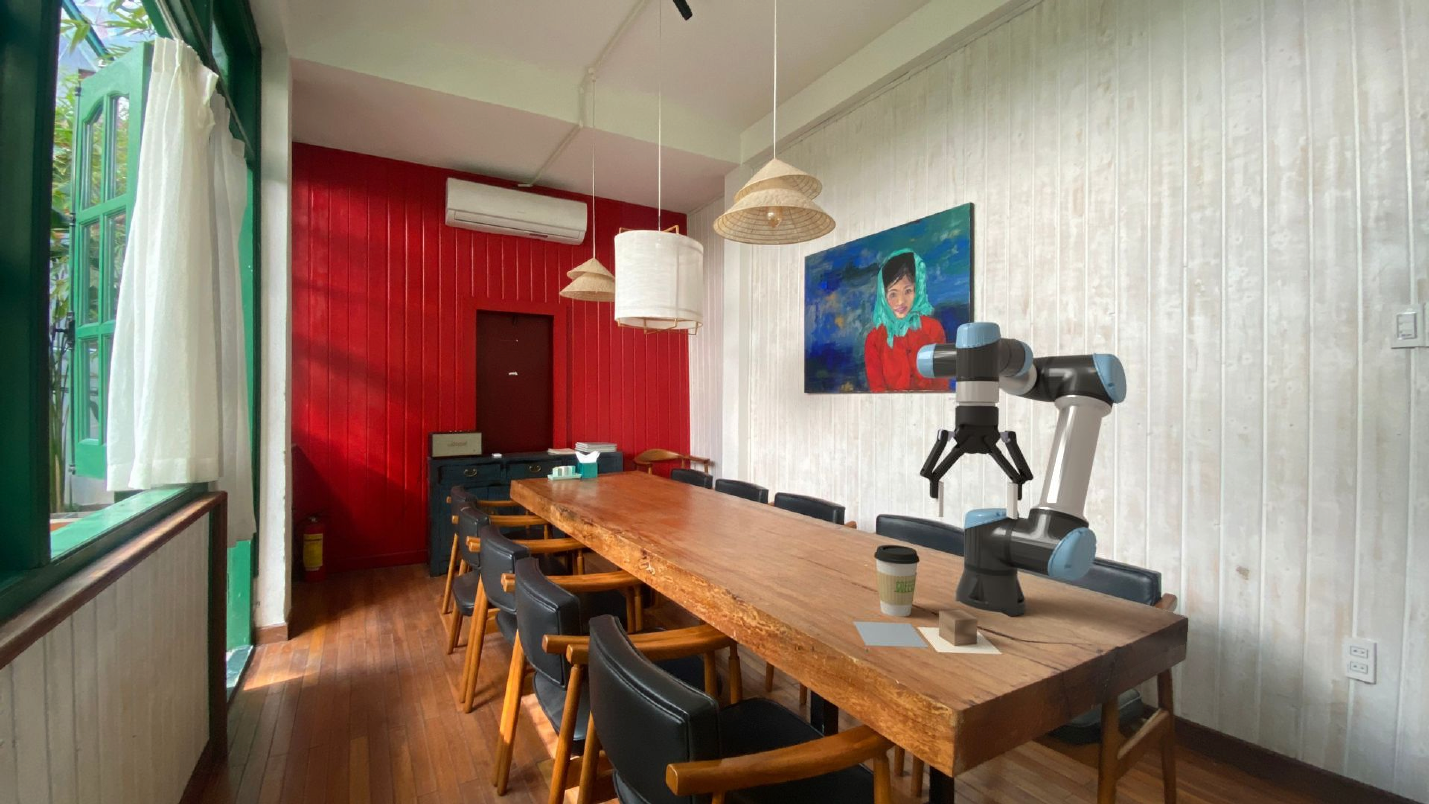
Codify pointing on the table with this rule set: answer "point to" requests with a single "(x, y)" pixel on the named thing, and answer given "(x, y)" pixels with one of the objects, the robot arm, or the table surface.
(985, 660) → the table surface
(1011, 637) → the table surface
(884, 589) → the coffee cup
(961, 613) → the walnut block
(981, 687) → the table surface
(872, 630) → the pad
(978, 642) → the pad
